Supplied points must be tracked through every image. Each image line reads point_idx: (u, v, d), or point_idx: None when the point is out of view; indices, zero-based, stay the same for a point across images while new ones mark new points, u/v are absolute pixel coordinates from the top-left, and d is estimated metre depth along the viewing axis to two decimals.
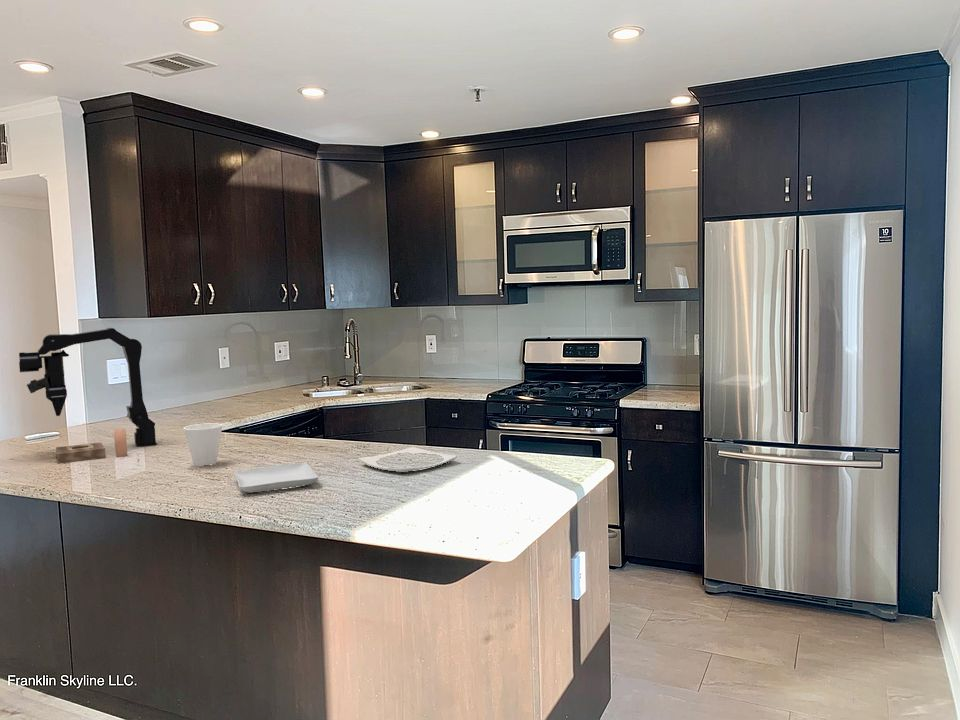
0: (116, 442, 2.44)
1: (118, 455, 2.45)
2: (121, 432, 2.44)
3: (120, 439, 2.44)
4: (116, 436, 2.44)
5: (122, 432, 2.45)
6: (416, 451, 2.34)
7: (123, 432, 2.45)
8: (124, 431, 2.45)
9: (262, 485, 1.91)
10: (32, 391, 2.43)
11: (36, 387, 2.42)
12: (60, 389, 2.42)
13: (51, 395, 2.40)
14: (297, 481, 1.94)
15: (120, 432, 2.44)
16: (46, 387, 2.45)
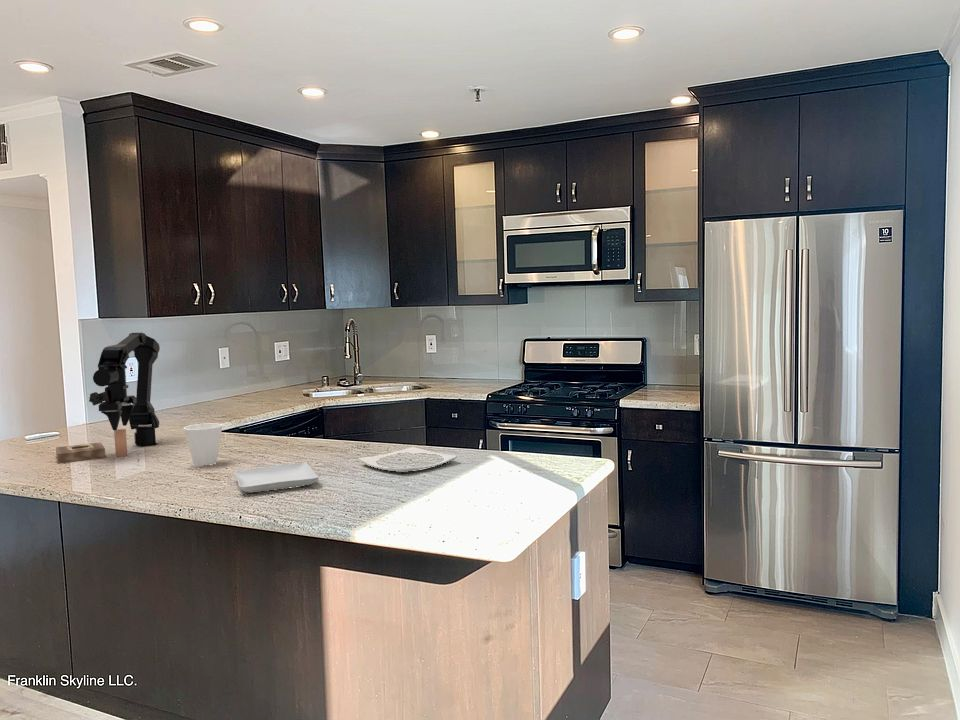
0: (116, 442, 2.44)
1: (118, 455, 2.45)
2: (121, 432, 2.44)
3: (120, 439, 2.44)
4: (116, 436, 2.44)
5: (122, 432, 2.45)
6: (416, 451, 2.34)
7: (123, 432, 2.45)
8: (124, 431, 2.45)
9: (262, 485, 1.91)
10: (94, 404, 2.42)
11: (95, 400, 2.40)
12: (111, 404, 2.36)
13: (103, 409, 2.36)
14: (297, 481, 1.94)
15: (120, 432, 2.44)
16: (106, 400, 2.42)
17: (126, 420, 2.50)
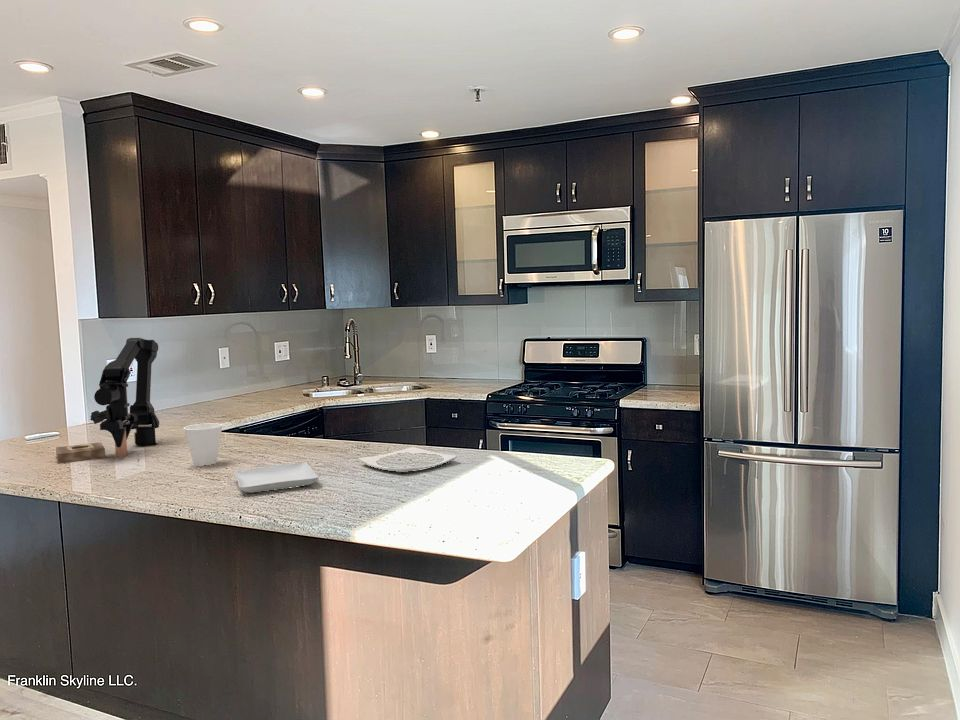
0: None
1: (118, 455, 2.45)
2: None
3: None
4: None
5: None
6: (416, 451, 2.34)
7: None
8: None
9: (262, 485, 1.91)
10: (95, 422, 2.42)
11: (96, 419, 2.40)
12: (113, 423, 2.36)
13: (104, 428, 2.36)
14: (297, 481, 1.94)
15: None
16: (107, 419, 2.42)
17: None
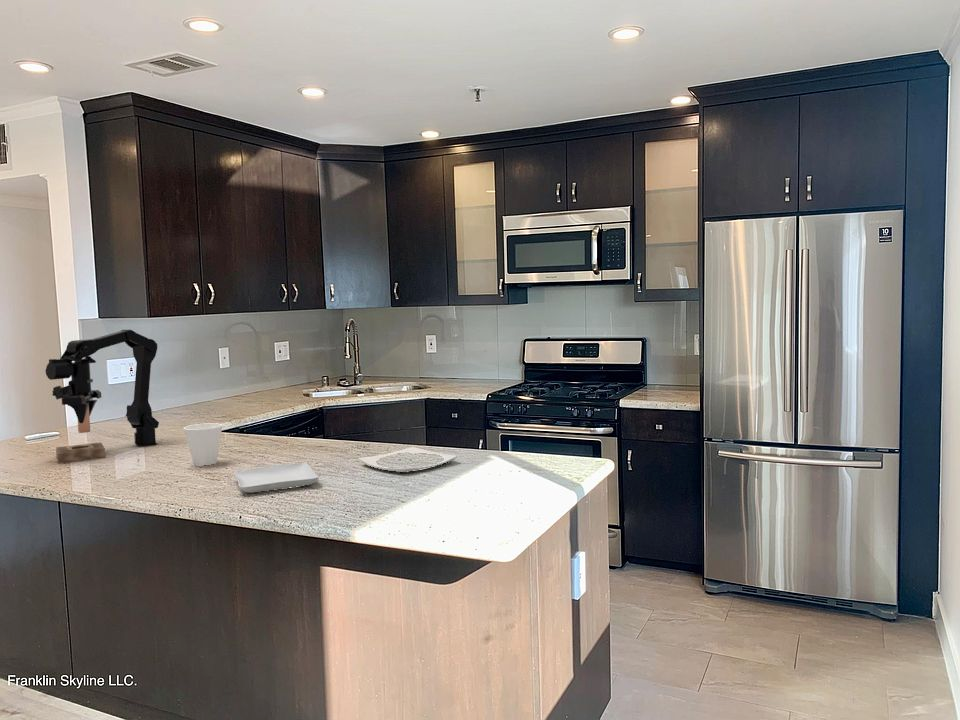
0: None
1: (81, 431, 2.43)
2: None
3: None
4: None
5: None
6: (416, 451, 2.34)
7: None
8: None
9: (262, 485, 1.91)
10: (57, 397, 2.41)
11: (58, 394, 2.39)
12: (75, 397, 2.35)
13: (66, 403, 2.35)
14: (297, 481, 1.94)
15: None
16: (69, 394, 2.41)
17: None
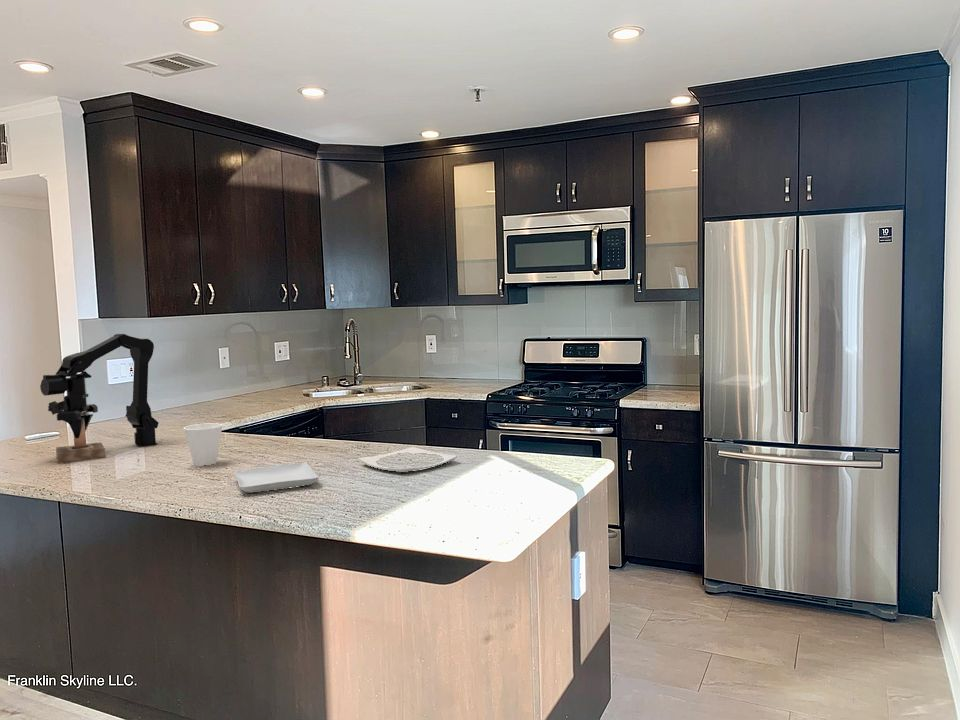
0: None
1: (76, 446, 2.44)
2: None
3: None
4: None
5: None
6: (416, 451, 2.34)
7: None
8: None
9: (262, 485, 1.91)
10: (53, 413, 2.42)
11: (54, 409, 2.40)
12: (69, 413, 2.36)
13: (61, 419, 2.35)
14: (297, 481, 1.94)
15: None
16: (65, 409, 2.41)
17: None
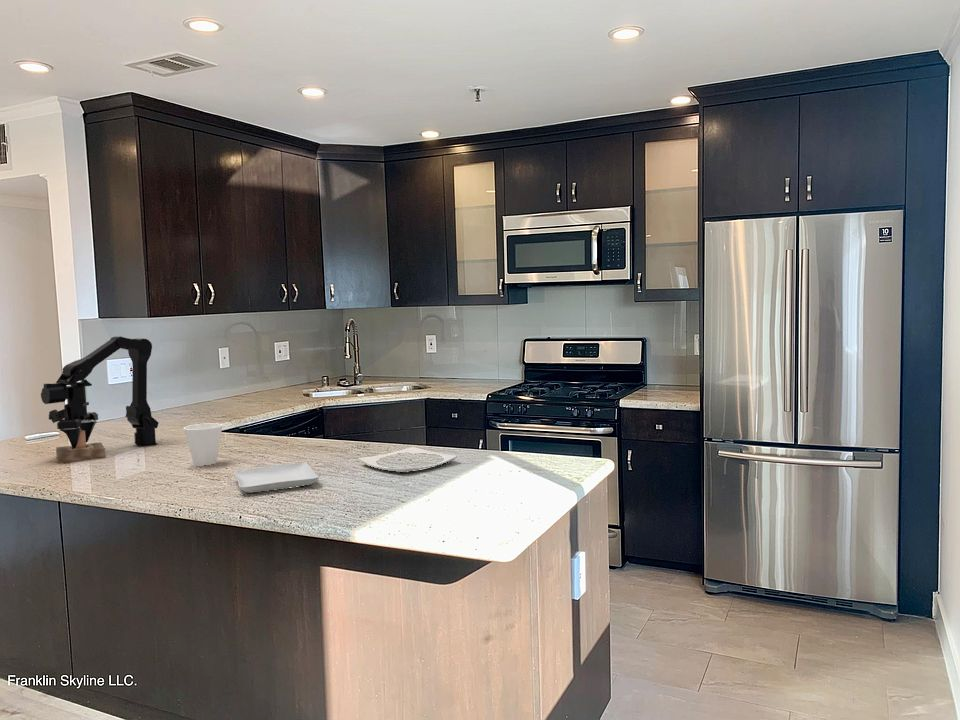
0: None
1: None
2: (80, 433, 2.44)
3: (79, 440, 2.44)
4: None
5: (81, 433, 2.44)
6: (416, 451, 2.34)
7: (82, 433, 2.44)
8: (83, 432, 2.45)
9: (262, 485, 1.91)
10: (53, 421, 2.42)
11: (54, 418, 2.40)
12: (70, 422, 2.36)
13: (61, 427, 2.36)
14: (297, 481, 1.94)
15: None
16: (65, 418, 2.42)
17: (87, 437, 2.50)
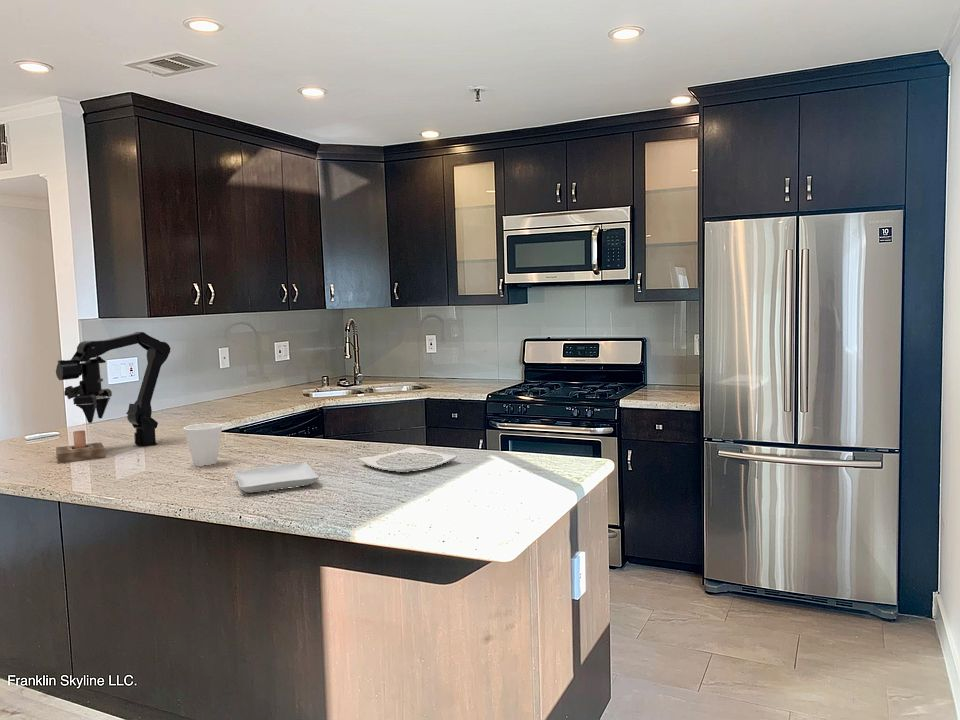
0: (75, 443, 2.44)
1: None
2: (80, 433, 2.44)
3: (79, 440, 2.44)
4: (75, 437, 2.44)
5: (81, 433, 2.44)
6: (416, 451, 2.34)
7: (82, 433, 2.44)
8: (83, 432, 2.45)
9: (262, 485, 1.91)
10: (69, 397, 2.47)
11: (70, 394, 2.46)
12: (86, 397, 2.42)
13: (78, 403, 2.41)
14: (297, 481, 1.94)
15: (79, 433, 2.44)
16: (81, 394, 2.47)
17: (102, 413, 2.56)
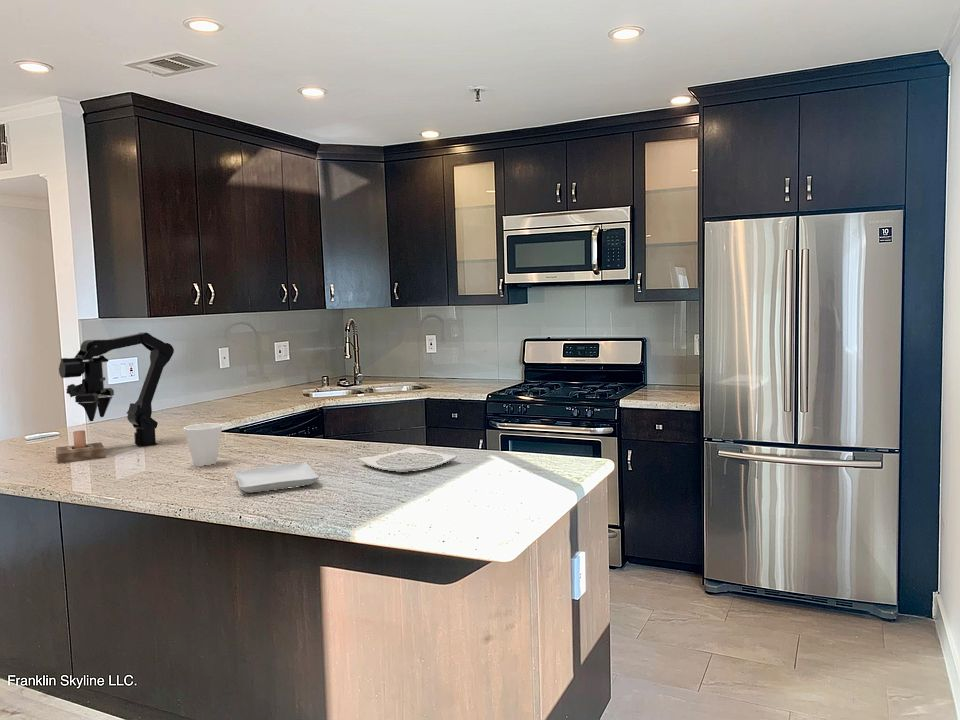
0: (75, 443, 2.44)
1: None
2: (80, 433, 2.44)
3: (79, 440, 2.44)
4: (75, 437, 2.44)
5: (81, 433, 2.44)
6: (416, 451, 2.34)
7: (82, 433, 2.44)
8: (83, 432, 2.45)
9: (262, 485, 1.91)
10: (71, 395, 2.48)
11: (72, 392, 2.47)
12: (88, 395, 2.43)
13: (79, 401, 2.42)
14: (297, 481, 1.94)
15: (79, 433, 2.44)
16: (83, 392, 2.48)
17: (103, 412, 2.57)
